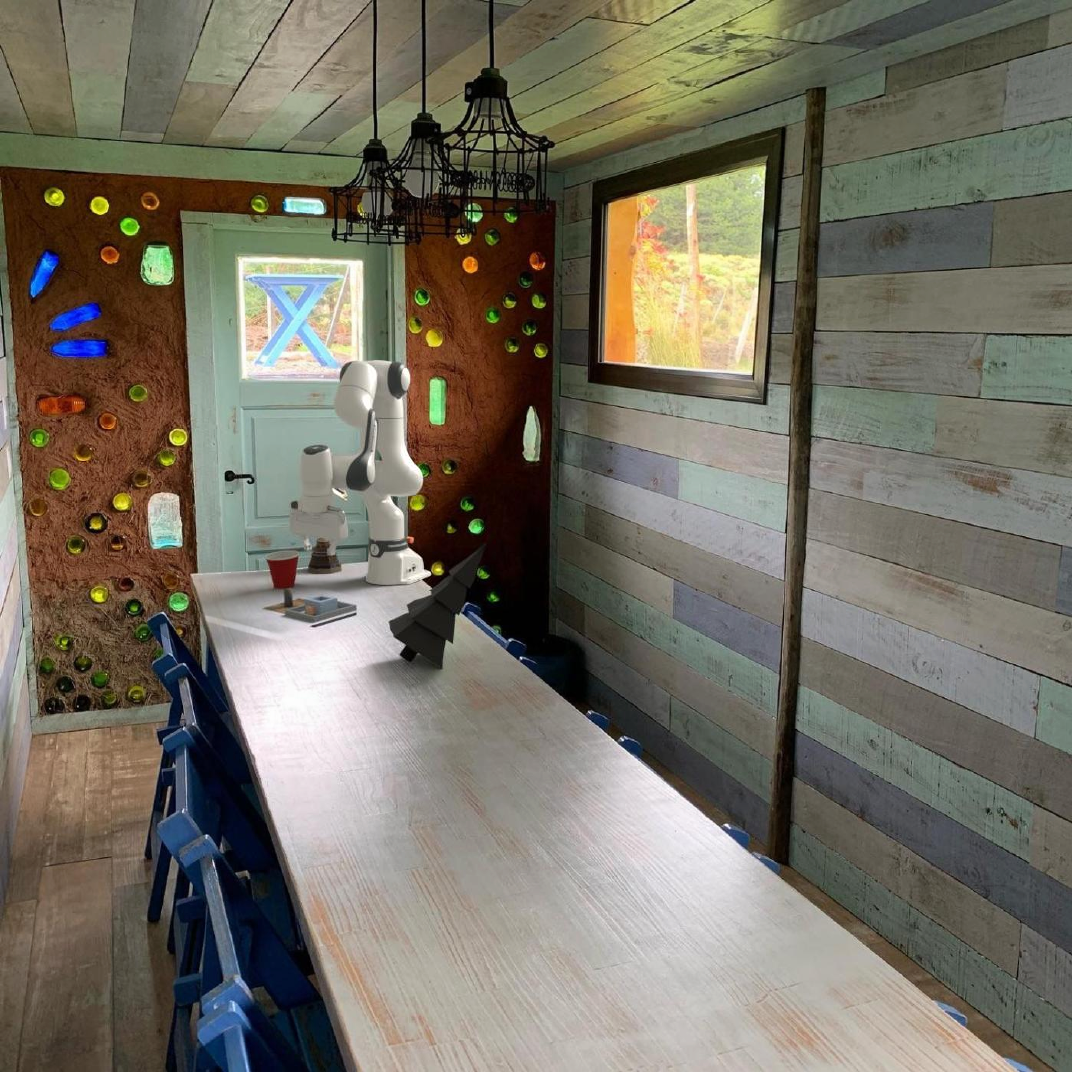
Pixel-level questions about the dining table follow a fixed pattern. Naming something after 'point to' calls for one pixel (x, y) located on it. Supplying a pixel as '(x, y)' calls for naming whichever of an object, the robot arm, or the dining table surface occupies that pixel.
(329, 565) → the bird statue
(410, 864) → the dining table surface
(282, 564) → the plastic cup
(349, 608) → the tray
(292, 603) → the board
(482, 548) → the decorative tree
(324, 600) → the collar
